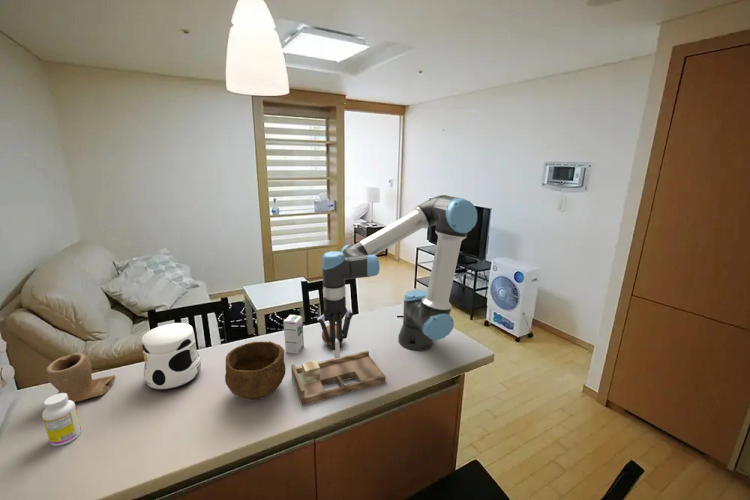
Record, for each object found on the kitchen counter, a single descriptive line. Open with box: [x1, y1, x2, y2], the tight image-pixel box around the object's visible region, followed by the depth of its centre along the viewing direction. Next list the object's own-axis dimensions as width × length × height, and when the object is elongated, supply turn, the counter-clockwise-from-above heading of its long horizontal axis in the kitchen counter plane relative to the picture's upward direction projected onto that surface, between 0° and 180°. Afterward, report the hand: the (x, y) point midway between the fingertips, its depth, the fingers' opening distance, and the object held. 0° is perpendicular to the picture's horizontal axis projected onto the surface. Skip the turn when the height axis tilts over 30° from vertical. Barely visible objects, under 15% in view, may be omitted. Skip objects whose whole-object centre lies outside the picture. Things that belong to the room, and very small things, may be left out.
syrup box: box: [283, 314, 305, 355], centre depth 138 cm, size 6×6×14 cm
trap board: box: [290, 350, 387, 407], centre depth 121 cm, size 30×16×6 cm, turn 115°
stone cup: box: [45, 352, 116, 403], centre depth 109 cm, size 15×12×15 cm
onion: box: [321, 322, 337, 347], centre depth 144 cm, size 10×9×10 cm
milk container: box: [141, 322, 202, 390], centre depth 118 cm, size 17×17×18 cm
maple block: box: [301, 360, 320, 381], centre depth 119 cm, size 5×5×4 cm
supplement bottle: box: [41, 393, 82, 447], centre depth 93 cm, size 7×7×13 cm
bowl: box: [224, 341, 286, 401], centre depth 112 cm, size 19×19×15 cm
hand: (336, 356), depth 122 cm, fingers closed
